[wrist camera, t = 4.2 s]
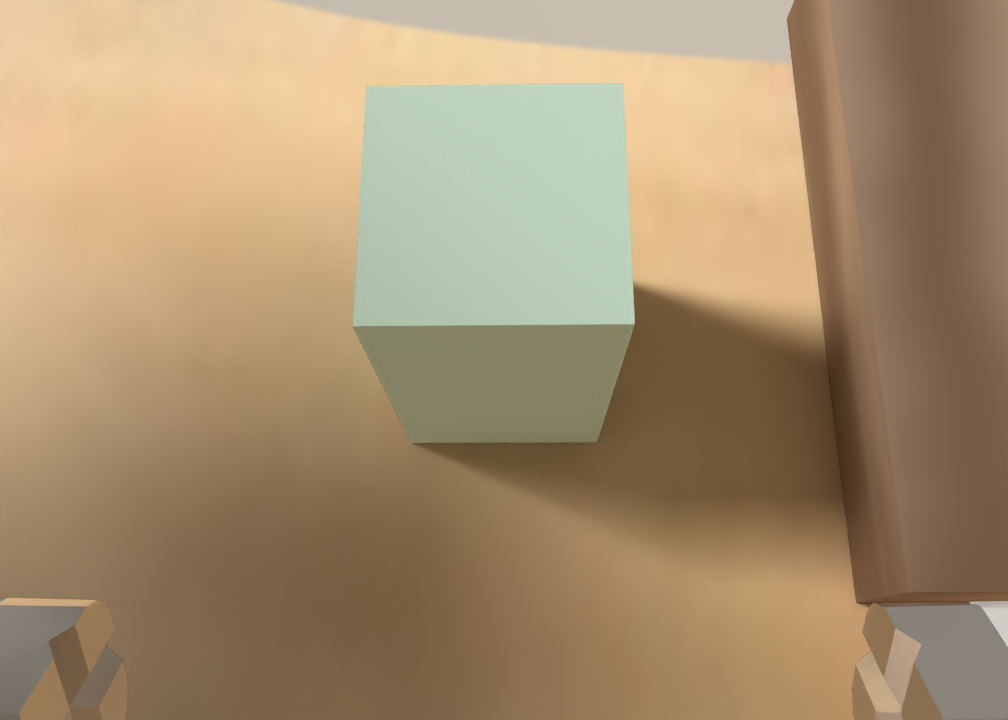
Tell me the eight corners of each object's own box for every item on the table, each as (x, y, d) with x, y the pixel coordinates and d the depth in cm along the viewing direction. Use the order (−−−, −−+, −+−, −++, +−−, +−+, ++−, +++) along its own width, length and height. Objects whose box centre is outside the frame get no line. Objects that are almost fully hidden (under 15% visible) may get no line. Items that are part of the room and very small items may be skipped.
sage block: (411, 443, 22) (352, 326, 15) (416, 273, 24) (366, 85, 16) (597, 442, 22) (634, 324, 14) (591, 271, 23) (623, 83, 16)
